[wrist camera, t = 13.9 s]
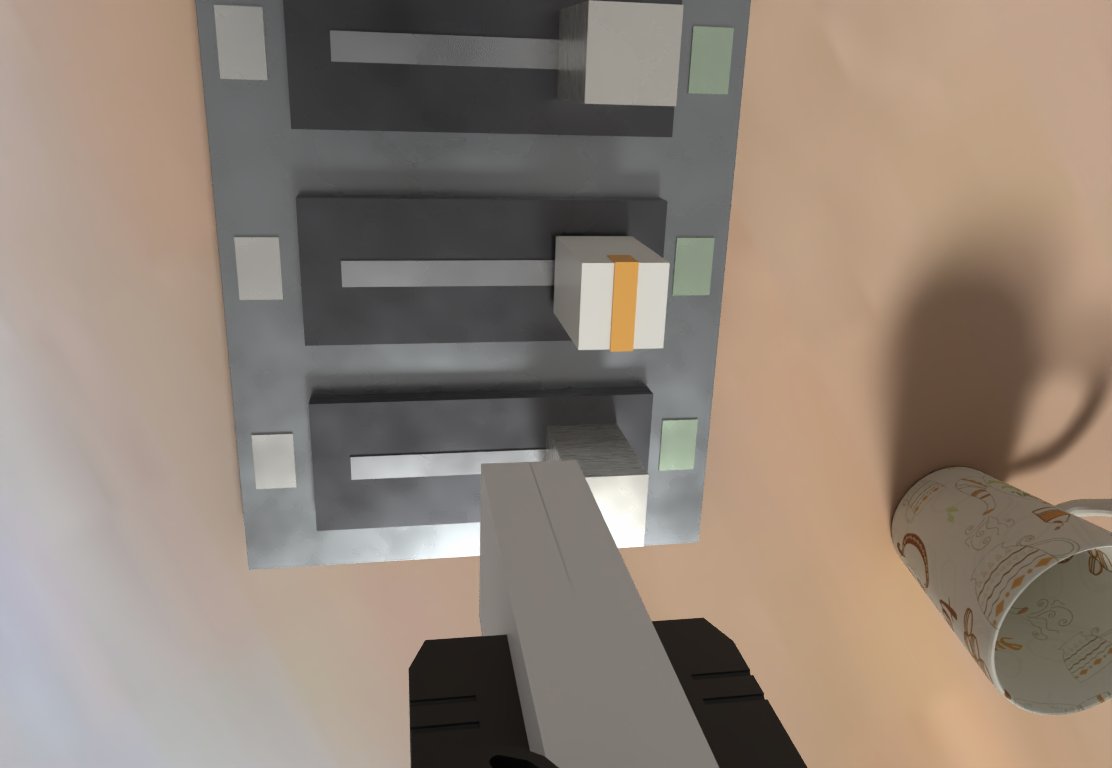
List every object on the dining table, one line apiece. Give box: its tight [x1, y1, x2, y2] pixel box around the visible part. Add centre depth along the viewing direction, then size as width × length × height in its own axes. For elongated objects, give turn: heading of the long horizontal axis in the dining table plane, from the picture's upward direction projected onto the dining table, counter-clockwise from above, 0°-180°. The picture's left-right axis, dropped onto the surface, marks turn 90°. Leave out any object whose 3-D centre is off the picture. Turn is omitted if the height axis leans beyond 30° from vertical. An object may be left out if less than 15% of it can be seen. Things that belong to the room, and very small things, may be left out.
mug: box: [892, 467, 1112, 715], centre depth 41 cm, size 8×13×10 cm, turn 106°
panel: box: [195, 0, 751, 570], centre depth 34 cm, size 26×20×8 cm
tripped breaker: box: [553, 236, 670, 352], centre depth 32 cm, size 3×3×5 cm
